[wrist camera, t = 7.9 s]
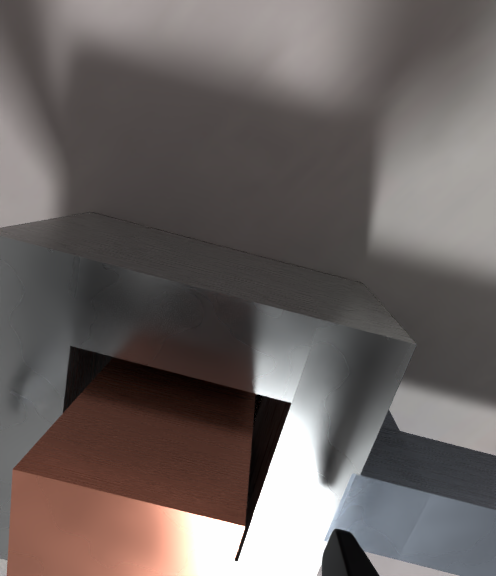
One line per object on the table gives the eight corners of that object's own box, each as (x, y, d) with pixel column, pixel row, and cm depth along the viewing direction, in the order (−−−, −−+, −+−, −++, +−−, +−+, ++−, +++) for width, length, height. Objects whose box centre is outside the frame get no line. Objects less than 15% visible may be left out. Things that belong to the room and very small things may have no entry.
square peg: (142, 395, 15) (4, 624, 7) (158, 307, 14) (12, 469, 6) (236, 418, 15) (198, 672, 7) (260, 332, 14) (245, 526, 6)
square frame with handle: (64, 438, 16) (-27, 551, 11) (90, 211, 13) (-19, 231, 8) (500, 549, 16) (599, 709, 11) (625, 351, 13) (833, 453, 8)
